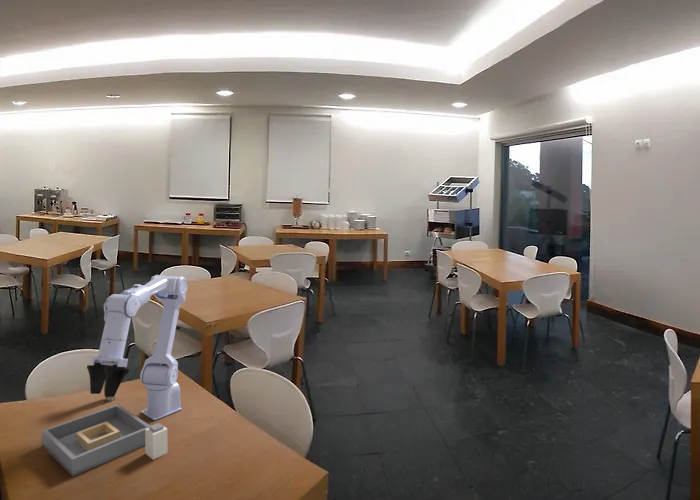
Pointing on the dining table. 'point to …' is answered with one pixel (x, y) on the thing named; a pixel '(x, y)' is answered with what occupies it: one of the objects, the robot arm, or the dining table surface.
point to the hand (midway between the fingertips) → (102, 395)
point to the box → (94, 438)
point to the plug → (156, 441)
